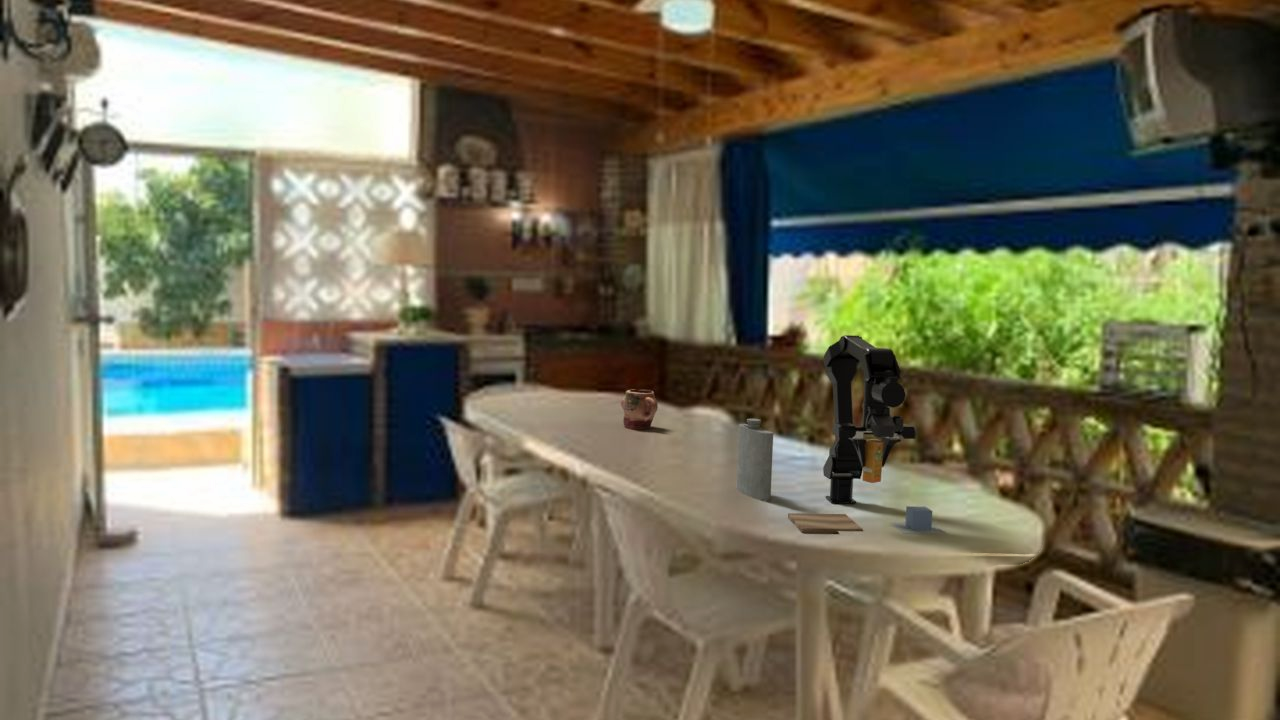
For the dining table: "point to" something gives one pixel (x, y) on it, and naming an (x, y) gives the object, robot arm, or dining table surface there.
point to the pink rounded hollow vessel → (639, 408)
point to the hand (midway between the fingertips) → (872, 466)
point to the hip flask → (754, 460)
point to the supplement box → (873, 460)
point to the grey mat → (906, 530)
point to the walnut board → (823, 523)
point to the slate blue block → (918, 518)
